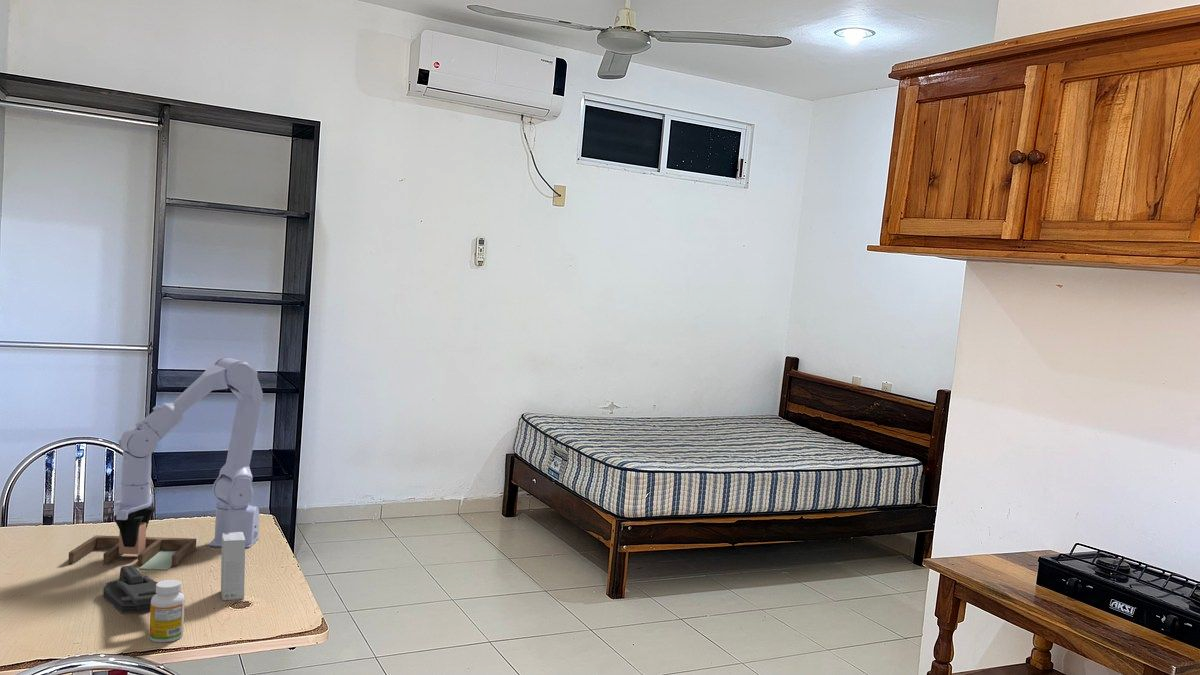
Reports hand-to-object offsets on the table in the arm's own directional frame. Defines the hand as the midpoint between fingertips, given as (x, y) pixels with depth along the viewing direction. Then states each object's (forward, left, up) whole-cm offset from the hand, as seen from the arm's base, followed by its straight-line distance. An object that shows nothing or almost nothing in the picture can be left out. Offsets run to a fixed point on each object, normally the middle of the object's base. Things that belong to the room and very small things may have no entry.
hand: (133, 543), depth 193 cm
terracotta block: (0, 0, -2) cm, 2 cm away
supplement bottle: (-22, +42, -3) cm, 48 cm away
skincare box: (-27, +21, -3) cm, 34 cm away
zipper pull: (-13, +29, -3) cm, 32 cm away
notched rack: (0, 0, -3) cm, 3 cm away
